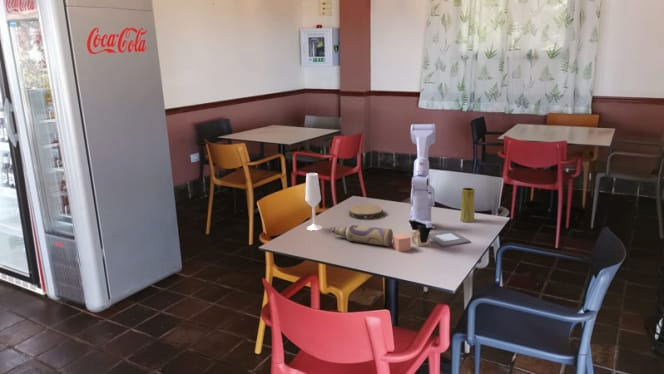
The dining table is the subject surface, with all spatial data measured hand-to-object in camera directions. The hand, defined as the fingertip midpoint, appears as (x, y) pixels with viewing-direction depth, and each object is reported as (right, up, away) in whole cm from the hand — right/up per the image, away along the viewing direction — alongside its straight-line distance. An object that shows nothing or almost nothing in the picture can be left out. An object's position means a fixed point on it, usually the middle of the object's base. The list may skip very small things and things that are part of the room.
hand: (420, 239), depth 198 cm
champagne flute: (-42, +3, +23) cm, 48 cm away
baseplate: (+11, 0, +4) cm, 12 cm away
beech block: (0, -1, 0) cm, 1 cm away
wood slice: (-18, +7, +40) cm, 44 cm away
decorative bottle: (-22, -1, +6) cm, 23 cm away
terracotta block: (-8, -3, -4) cm, 9 cm away
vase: (+25, +6, +26) cm, 36 cm away
